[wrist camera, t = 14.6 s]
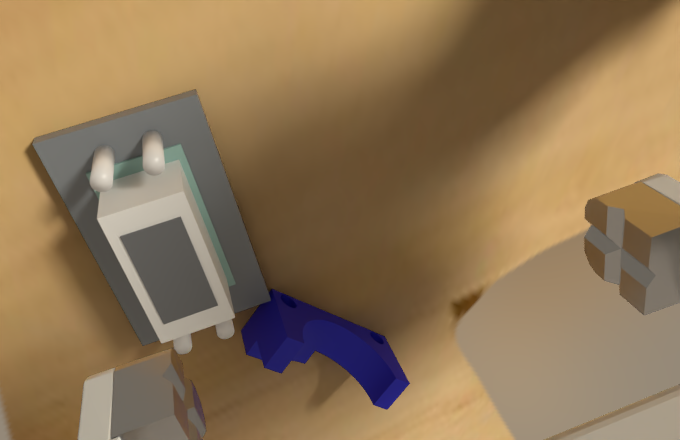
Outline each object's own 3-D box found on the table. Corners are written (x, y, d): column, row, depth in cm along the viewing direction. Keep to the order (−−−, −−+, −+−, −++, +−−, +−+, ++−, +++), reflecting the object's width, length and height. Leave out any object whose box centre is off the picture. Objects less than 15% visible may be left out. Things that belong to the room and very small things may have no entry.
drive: (179, 159, 38) (183, 191, 34) (226, 279, 44) (235, 318, 40) (100, 183, 37) (96, 219, 34) (159, 302, 43) (161, 344, 39)
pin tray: (195, 89, 37) (202, 116, 33) (268, 292, 47) (281, 334, 43) (34, 137, 36) (21, 172, 32) (142, 337, 45) (143, 384, 41)
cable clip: (240, 329, 48) (252, 382, 43) (271, 287, 47) (287, 336, 42) (354, 371, 54) (376, 422, 49) (383, 335, 53) (409, 383, 48)
